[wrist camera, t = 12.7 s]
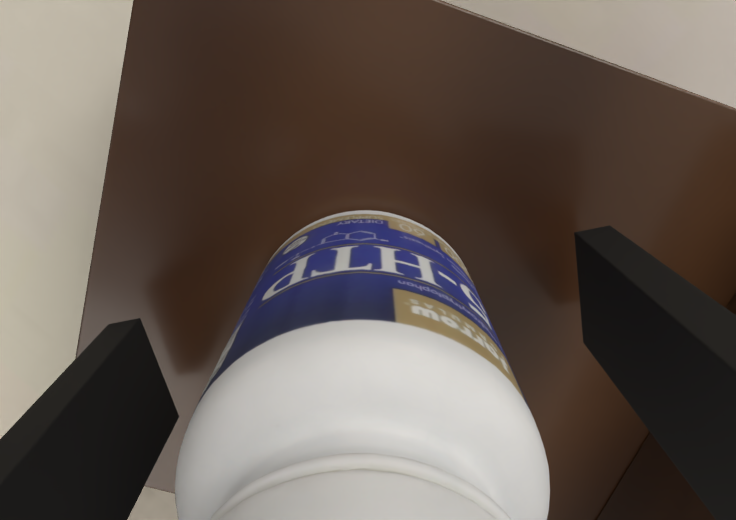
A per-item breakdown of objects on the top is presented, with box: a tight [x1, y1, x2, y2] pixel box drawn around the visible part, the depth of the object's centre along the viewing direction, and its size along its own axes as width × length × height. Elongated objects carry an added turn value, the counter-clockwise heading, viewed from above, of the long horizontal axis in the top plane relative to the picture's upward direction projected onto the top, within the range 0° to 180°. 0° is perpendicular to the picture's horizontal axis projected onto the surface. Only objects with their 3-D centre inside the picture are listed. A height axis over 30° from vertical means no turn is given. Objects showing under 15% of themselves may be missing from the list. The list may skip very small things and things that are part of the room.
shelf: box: [75, 0, 736, 520], centre depth 16 cm, size 16×14×12 cm
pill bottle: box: [175, 210, 550, 520], centre depth 9 cm, size 5×5×9 cm
